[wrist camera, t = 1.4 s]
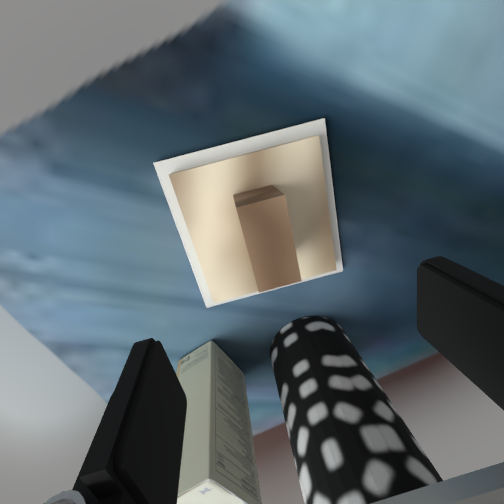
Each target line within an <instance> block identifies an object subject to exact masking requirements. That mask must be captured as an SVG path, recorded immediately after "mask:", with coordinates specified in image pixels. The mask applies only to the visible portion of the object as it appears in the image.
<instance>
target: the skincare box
mask: <svg viewBox="0 0 504 504" xmlns="http://www.w3.org/2000/svg"><path fill="white" fill-rule="evenodd" d="M176 375H177V377H178V380H179V382H180V384H181V386H182V388H183V390H184V392H185V394H186V398H187V412H186V421H185V431H184V440H183V450H182V459H181V469H180V479H179V488H178V498H177V504H262V503H261V496H260V489H259V481H258V474H257V467H256V459H255V452H254V444H253V437H252V430H251V422H250V415H249V407H248V400H247V393H246V385H245V378H244V373H243V372H242V371H241V370H240V369H239V368H238V367H237V366H236V365H235V363H234V362H233V361H232V360H231V359H230V358H229V357H228V356H227V355H226V354H225V353H224V352H223V351H222V350H221V349H220V348H219V347H218V346H217V345H216V344H215V343H214V342H213V341H209V342H207V343H206V344H204V345H202V346H201V347H199V348H198V349H196V350H194V351H193V352H191V353H190V354H188V355H187V356H185V357H184V358H182V359H181V360H179V361H178V367H177V374H176Z"/></svg>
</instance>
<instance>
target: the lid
mask: <svg viewBox="0 0 504 504" xmlns="http://www.w3.org/2000/svg"><path fill="white" fill-rule="evenodd" d="M169 178H170V181H171V183H172V186H173V189H174V192H175V195H176V198H177V200H178V203H179V206H180V209H181V212H182V215H183V217H184V220H185V223H186V226H187V229H188V232H189V234H190V237H191V240H192V243H193V246H194V249H195V251H196V254H197V257H198V260H199V263H200V266H201V268H202V271H203V274H204V277H205V280H206V283H207V285H208V288H209V291H210V294H211V297H212V300H213V302H214V303H216V302H220V301H224V300H227V299H231V298H235V297H238V296H242V295H246V294H249V293H253V292H257V291H259V293H260V292H264V291H267V290H271V289H275V288H278V287H282V286H286V285H290V284H293V283H297V282H301V281H302V280H301V279H305V278H309V277H313V276H316V275H320V274H324V273H327V272H331V271H335V270H337V269H336V261H335V254H334V246H333V238H332V231H331V223H330V215H329V208H328V200H327V192H326V185H325V177H324V169H323V162H322V154H321V146H320V138H319V135H317V136H311V137H307V138H304V139H300V140H296V141H292V142H288V143H285V144H281V145H277V146H273V147H269V148H266V149H262V150H258V151H254V152H250V153H247V154H243V155H239V156H235V157H231V158H228V159H224V160H220V161H216V162H212V163H209V164H205V165H201V166H197V167H193V168H190V169H186V170H182V171H178V172H174V173H171V174H169Z"/></svg>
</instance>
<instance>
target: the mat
mask: <svg viewBox="0 0 504 504" xmlns="http://www.w3.org/2000/svg"><path fill="white" fill-rule="evenodd" d="M317 135H319V138H320V146H321V154H322V162H323V169H324V177H325V185H326V192H327V200H328V208H329V215H330V223H331V231H332V238H333V246H334V254H335V261H336V269H337V270H335V271H331V272H327V273H324V274H320V275H316V276H313V277H309V278H305V279H301V280H302V281H301V282H304V281H308V280H312V279H315V278H319V277H323V276H326V275H330V274H334V273H338V272H341V271H343V266H342V258H341V250H340V241H339V233H338V225H337V216H336V208H335V200H334V191H333V183H332V174H331V166H330V158H329V149H328V141H327V133H326V124H325V118H323V119H319V120H315V121H311V122H308V123H304V124H300V125H296V126H292V127H289V128H285V129H281V130H277V131H273V132H270V133H266V134H262V135H258V136H254V137H251V138H247V139H243V140H239V141H235V142H231V143H228V144H224V145H220V146H216V147H212V148H209V149H205V150H201V151H197V152H193V153H190V154H186V155H182V156H178V157H174V158H171V159H167V160H163V161H159V162H155V163H154V166H155V169H156V172H157V174H158V177H159V180H160V182H161V185H162V188H163V191H164V193H165V196H166V199H167V201H168V204H169V207H170V210H171V212H172V215H173V218H174V220H175V223H176V226H177V229H178V231H179V234H180V237H181V239H182V242H183V245H184V248H185V250H186V253H187V256H188V258H189V261H190V264H191V267H192V269H193V272H194V275H195V277H196V280H197V283H198V286H199V288H200V291H201V294H202V296H203V299H204V302H205V305H206V307H207V308H208V307H211V306H215V305H219V304H223V303H226V302H230V301H234V300H237V299H241V298H245V297H249V296H252V295H256V294H260V293H263V292H260V293H259V291H257V292H253V293H249V294H246V295H242V296H238V297H235V298H231V299H227V300H224V301H220V302H216V303H214V302H213V300H212V297H211V294H210V291H209V288H208V285H207V283H206V280H205V277H204V274H203V271H202V268H201V266H200V263H199V260H198V257H197V254H196V251H195V249H194V246H193V243H192V240H191V237H190V234H189V232H188V229H187V226H186V223H185V220H184V217H183V215H182V212H181V209H180V206H179V203H178V200H177V198H176V195H175V192H174V189H173V186H172V183H171V181H170V178H169V174H171V173H174V172H178V171H182V170H186V169H190V168H193V167H197V166H201V165H205V164H209V163H212V162H216V161H220V160H224V159H228V158H231V157H235V156H239V155H243V154H247V153H250V152H254V151H258V150H262V149H266V148H269V147H273V146H277V145H281V144H285V143H288V142H292V141H296V140H300V139H304V138H307V137H311V136H317ZM297 283H300V282H297ZM297 283H293V284H297ZM293 284H290V285H293ZM286 286H289V285H286ZM286 286H282V287H286ZM282 287H278V288H282ZM278 288H275V289H278ZM275 289H271V290H275ZM271 290H267V291H271ZM267 291H264V292H267Z"/></svg>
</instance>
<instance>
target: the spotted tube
mask: <svg viewBox="0 0 504 504" xmlns="http://www.w3.org/2000/svg"><path fill="white" fill-rule="evenodd" d="M270 358H271V363H272V367H273V371H274V375H275V380H276V384H277V388H278V392H279V397H280V401H281V405H282V409H283V414H284V418H285V422H286V426H287V431H288V434H289V439H290V443H291V447H292V452H293V456H294V460H295V464H296V468H297V473H298V477H299V481H300V486H301V490H302V494H303V498H304V503H305V504H371V503H374V502H377V501H381V500H384V499H387V498H390V497H393V496H397V495H400V494H403V493H406V492H409V491H412V490H416V489H419V488H422V487H425V486H428V485H432V484H435V483H438V482H441V481H443V480H442V478H441V477H440V476H439V474H438V472H437V471H436V469H435V468H434V466H433V465H432V463H431V462H430V460H429V459H428V458H427V456H426V454H425V453H424V451H423V450H422V448H421V447H420V445H419V444H418V442H417V441H416V439H415V438H414V436H413V435H412V433H411V432H410V430H409V429H408V427H407V426H406V424H405V423H404V421H403V420H402V418H401V417H400V415H399V414H398V412H397V411H396V409H395V408H394V406H393V405H392V403H391V402H390V400H389V399H388V397H387V396H386V394H385V393H384V391H383V390H382V388H381V387H380V385H379V384H378V382H377V381H376V379H375V378H374V376H373V375H372V373H371V372H370V370H369V369H368V367H367V366H366V364H365V363H364V361H363V360H362V358H361V357H360V355H359V353H358V352H357V350H356V349H355V347H354V346H353V344H352V343H351V341H350V340H349V338H348V337H347V335H346V334H345V332H344V331H343V329H342V328H341V326H339V325H338V324H337V323H336V322H335V321H333V320H331V319H329V318H325V317H320V316H308V317H303V318H299V319H297V320H295V321H292V322H290V323H289V324H287V325H286V326H284V327H283V328H282V329H281V330H280V331H279V332H278V333H277V335H276V336H275V337H274V339H273V341H272V343H271V347H270Z"/></svg>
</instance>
